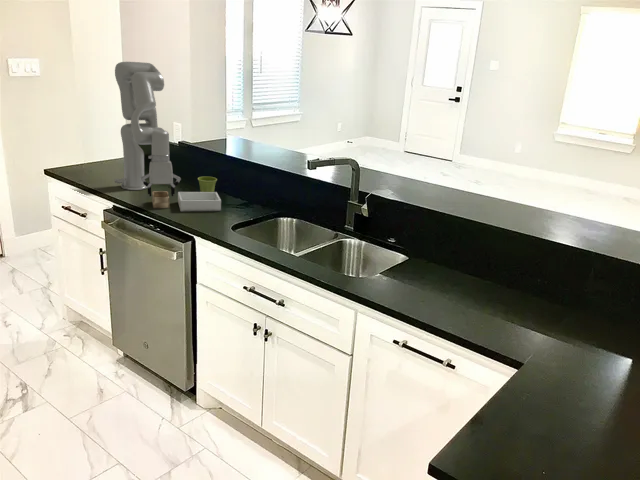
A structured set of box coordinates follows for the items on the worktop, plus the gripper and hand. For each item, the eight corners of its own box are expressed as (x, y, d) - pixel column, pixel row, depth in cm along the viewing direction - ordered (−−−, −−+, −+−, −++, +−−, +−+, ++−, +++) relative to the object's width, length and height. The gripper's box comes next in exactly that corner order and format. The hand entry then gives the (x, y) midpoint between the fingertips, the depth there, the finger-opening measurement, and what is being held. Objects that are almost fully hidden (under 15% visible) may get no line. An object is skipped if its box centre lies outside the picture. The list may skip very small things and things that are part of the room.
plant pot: (193, 196, 268) (193, 179, 265) (203, 192, 276) (204, 175, 273) (210, 199, 265) (210, 182, 262) (220, 195, 273) (220, 178, 270)
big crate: (180, 211, 243) (180, 200, 242) (177, 202, 256) (177, 192, 254) (220, 211, 249) (221, 200, 248) (216, 202, 262) (216, 192, 260)
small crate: (153, 208, 244) (153, 197, 242) (152, 201, 253) (152, 191, 251) (169, 208, 246) (169, 197, 245) (167, 201, 255) (167, 191, 253)
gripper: (140, 159, 236) (141, 198, 241) (181, 160, 241) (181, 197, 247) (140, 156, 242) (141, 193, 248) (179, 157, 248) (180, 193, 254)
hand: (161, 195), depth 247 cm, fingers open, 9 cm apart
